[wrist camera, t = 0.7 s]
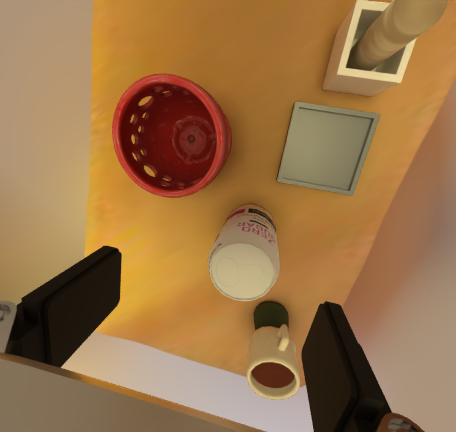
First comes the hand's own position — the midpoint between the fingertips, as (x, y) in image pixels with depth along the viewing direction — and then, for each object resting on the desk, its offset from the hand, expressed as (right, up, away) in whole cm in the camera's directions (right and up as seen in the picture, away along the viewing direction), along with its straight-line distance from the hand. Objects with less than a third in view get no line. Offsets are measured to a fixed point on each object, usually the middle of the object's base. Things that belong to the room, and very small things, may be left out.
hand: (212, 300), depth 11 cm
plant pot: (-4, +15, +26) cm, 31 cm away
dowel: (+17, +23, +19) cm, 35 cm away
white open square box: (+17, +24, +20) cm, 35 cm away
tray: (+15, +13, +23) cm, 31 cm away
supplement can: (+5, +2, +28) cm, 29 cm away
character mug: (+9, -14, +33) cm, 37 cm away
